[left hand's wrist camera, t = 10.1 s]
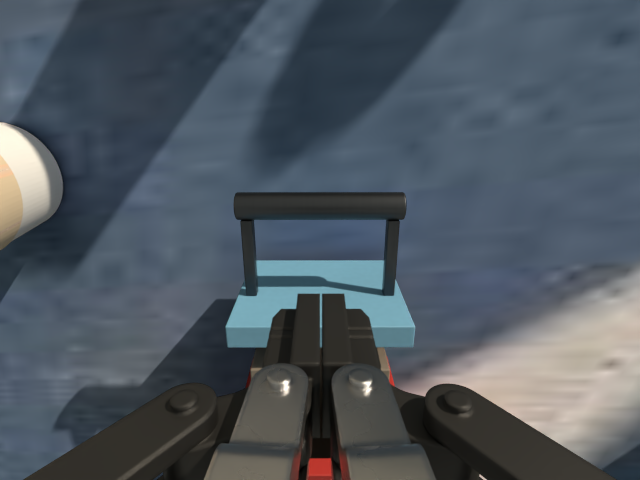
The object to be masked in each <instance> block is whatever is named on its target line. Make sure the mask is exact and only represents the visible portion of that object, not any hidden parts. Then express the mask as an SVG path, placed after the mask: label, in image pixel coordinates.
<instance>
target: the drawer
mask: <svg viewBox="0 0 640 480" xmlns="http://www.w3.org/2000/svg"><path fill="white" fill-rule="evenodd" d="M234 214H235V217H236V219H237V220H241V235H242V248H243V262H244V275H245V280H244V283H243V285H242V288H241V290H240V293H239V295H238V297H237V300H236V302H235V305H234V307H233V310H232V312H231V315H230V317H229V319H228V322H227V324H226V327H225V329H226V339H227V347H228V348H256V350H255V354H254V358H253V362H252V366H251V370H250V372H251V379H252V377H253V376H254V375H255V374H256V373H257V372H258V371H259V370H260V369H262V365H263V361H264V356H265V351H266V347H267V342H268V339H269V332H270V328H271V323H272V318H273V317H274V316H275V315H276V314H277V313H278V312H279V311H280V309H296V304H297V295H298V294H320V438H312V454H311V457H310V458H331V442H330V438H323V437H322V294H344V296H345V304H346V309H362V310H363V312H364V313H365V314H366V315H367V316H368V317H369V318H370V323H371V327H372V332H373V336H374V341H375V345H376V350H377V354H378V359H379V363H380V368H381V371H382V372H383V373H384V374H385V375H386V376H387V377H388V379H389V377H390V368H389V364H388V360H387V357H386V353H385V349H384V347H413V343H414V333H415V326H414V323H413V321H412V318H411V316H410V313H409V311H408V309H407V306H406V304H405V301H404V299H403V297H402V294H401V292H400V289H399V287H398V284H397V282H396V280H395V278H396V264H397V251H398V237H399V224H400V221H399V220H402V219H404V218H405V215H406V196H405V194H404V193H403V192H238V193H236V194H235V197H234ZM254 220H386V234H385V250H384V260H292V261H256V246H255V230H254Z"/></svg>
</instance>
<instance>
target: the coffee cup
mask: <svg viewBox="0 0 640 480" xmlns="http://www.w3.org/2000/svg"><path fill="white" fill-rule="evenodd" d="M62 195H63V181H62V176H61V172H60V169H59V167H58V164H57V162H56V160H55V159H54V157H53V155H52V154H51V153H50V151H49V150H48V149H47V148H46V146H45V145H44V144H43V143H42V142H41V141H39V140H38V139H37V138H36V137H35V136H33V135H32V134H30V133H29V132H27V131H25V130H23V129H21V128H19V127H17V126H14V125H11V124H7V123H1V122H0V250H2V249H3V248H5V247H6V246H7V245H8V244H9V243H10V242H11V241H13V240H15V239H16V238H18V237H20V236H21V235H23V234H25V233H26V232H28V231H30V230H31V229H33V228H35V227H36V226H38V225H40V224H41V223H43V222H45V221H46V220H48V219H49V218H50V217H51V216H52V215H53V214H54V213H55V212H56V210H57V209H58V207H59V205H60V202H61V199H62Z"/></svg>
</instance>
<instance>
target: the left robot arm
mask: <svg viewBox="0 0 640 480" xmlns="http://www.w3.org/2000/svg"><path fill="white" fill-rule="evenodd" d="M322 437H323V438H330V442H331V476H332V480H483V479H482V478H480V477H479V474H481V475H482V476H483V477H484V478H486V479H487V480H616V479H615V478H613V477H612V476H610V475H608V474H607V473H605V472H604V471H602V470H600V469H599V468H597V467H595V466H594V465H592V464H591V463H589V462H587V461H586V460H584V459H583V458H581V457H579V456H578V455H576V454H574V453H573V452H571V451H570V450H568V449H566V448H565V447H563V446H562V445H560V444H558V443H557V442H555V441H553V440H552V439H550V438H549V437H547V436H545V435H544V434H542V433H541V432H539V431H537V430H536V429H534V428H532V427H531V426H529V425H528V424H526V423H524V422H523V421H521V420H520V419H518V418H516V417H515V416H513V415H511V414H510V413H508V412H507V411H505V410H503V409H502V408H500V407H499V406H497V405H495V404H494V403H492V402H490V401H489V400H487V399H486V398H484V397H482V396H481V395H479V394H477V393H476V392H474V391H472V390H471V389H468V388H466V387H463V386H460V385H456V384H440V385H437V386H434V387H432V388H431V389H430V390H428V392H427V393H426V396H425V397H424V396H420V395H415V394H411V393H408V392H405V391H402V390H400V389H398V388H396V387H394V386H393V385H391V384H390V382H389V379H388V377H387V376H386V375H385V374H384V373H383V372H382V371H381V368H380V363H379V359H378V354H377V350H376V345H375V341H374V336H373V332H372V327H371V323H370V318H369V317H368V316H367V315H366V314H365V313H364V312H363V310H362V309H346V304H345V296H344V294H322ZM312 438H320V294H298V295H297V304H296V309H280V311H279V312H278V313H277V314H276V315H275V316H274V317H273V318H272V323H271V328H270V332H269V339H268V342H267V347H266V351H265V356H264V361H263V365H262V369H260V370H259V371H258V372H257V373H256V374H255V375H254V376H253V377H252V379H251V382H250V385H249V387H247V388H245V389H243V390H241V391H239V392H235V393H232V394H228V395H224V396H220V397H216V394H215V392H214V390H213V389H212V388H211V387H209V386H207V385H205V384H201V383H186V384H182V385H178V386H176V387H173V388H171V389H169V390H167V391H166V392H164V393H163V394H161V395H159V396H158V397H156V398H154V399H153V400H151V401H150V402H148V403H146V404H145V405H143V406H142V407H140V408H138V409H137V410H135V411H133V412H132V413H130V414H129V415H127V416H125V417H124V418H122V419H121V420H119V421H117V422H116V423H114V424H112V425H111V426H109V427H108V428H106V429H104V430H103V431H101V432H100V433H98V434H96V435H95V436H93V437H91V438H90V439H88V440H87V441H85V442H83V443H82V444H80V445H79V446H77V447H75V448H74V449H72V450H70V451H69V452H67V453H66V454H64V455H62V456H61V457H59V458H58V459H56V460H54V461H53V462H51V463H49V464H48V465H46V466H45V467H43V468H41V469H40V470H38V471H37V472H35V473H33V474H32V475H30V476H28V477H27V478H25V479H24V480H153V479H154V478H156V477H157V476H158V475H160V474H161V473H162V472H163V475H162V476H161V477H160V478H158V479H157V480H308V476H309V460H310V457H311V454H312Z"/></svg>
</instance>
